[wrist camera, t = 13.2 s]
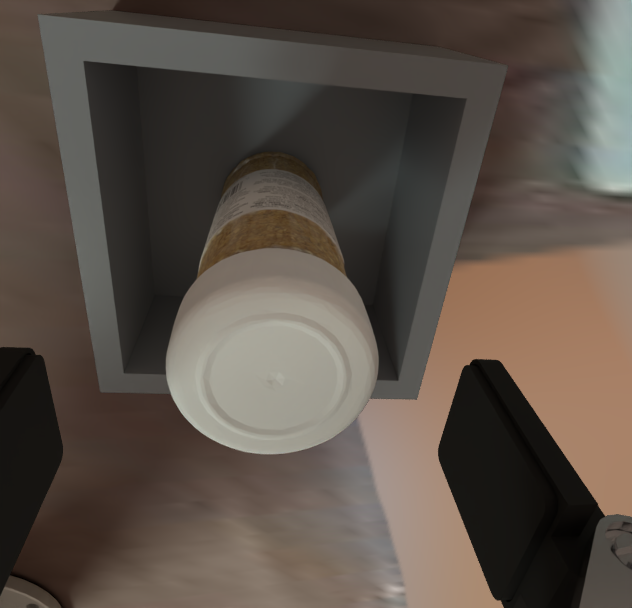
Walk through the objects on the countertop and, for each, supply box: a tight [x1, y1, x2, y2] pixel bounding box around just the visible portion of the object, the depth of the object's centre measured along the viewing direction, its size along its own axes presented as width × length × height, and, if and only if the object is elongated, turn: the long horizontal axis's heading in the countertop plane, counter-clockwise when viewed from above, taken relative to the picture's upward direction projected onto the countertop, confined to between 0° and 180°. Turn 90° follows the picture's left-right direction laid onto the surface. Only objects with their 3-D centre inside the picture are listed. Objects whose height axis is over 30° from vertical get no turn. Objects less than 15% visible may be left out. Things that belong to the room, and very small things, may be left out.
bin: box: [38, 10, 508, 400], centre depth 20 cm, size 13×13×7 cm
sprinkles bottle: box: [166, 152, 379, 454], centre depth 16 cm, size 5×5×14 cm
